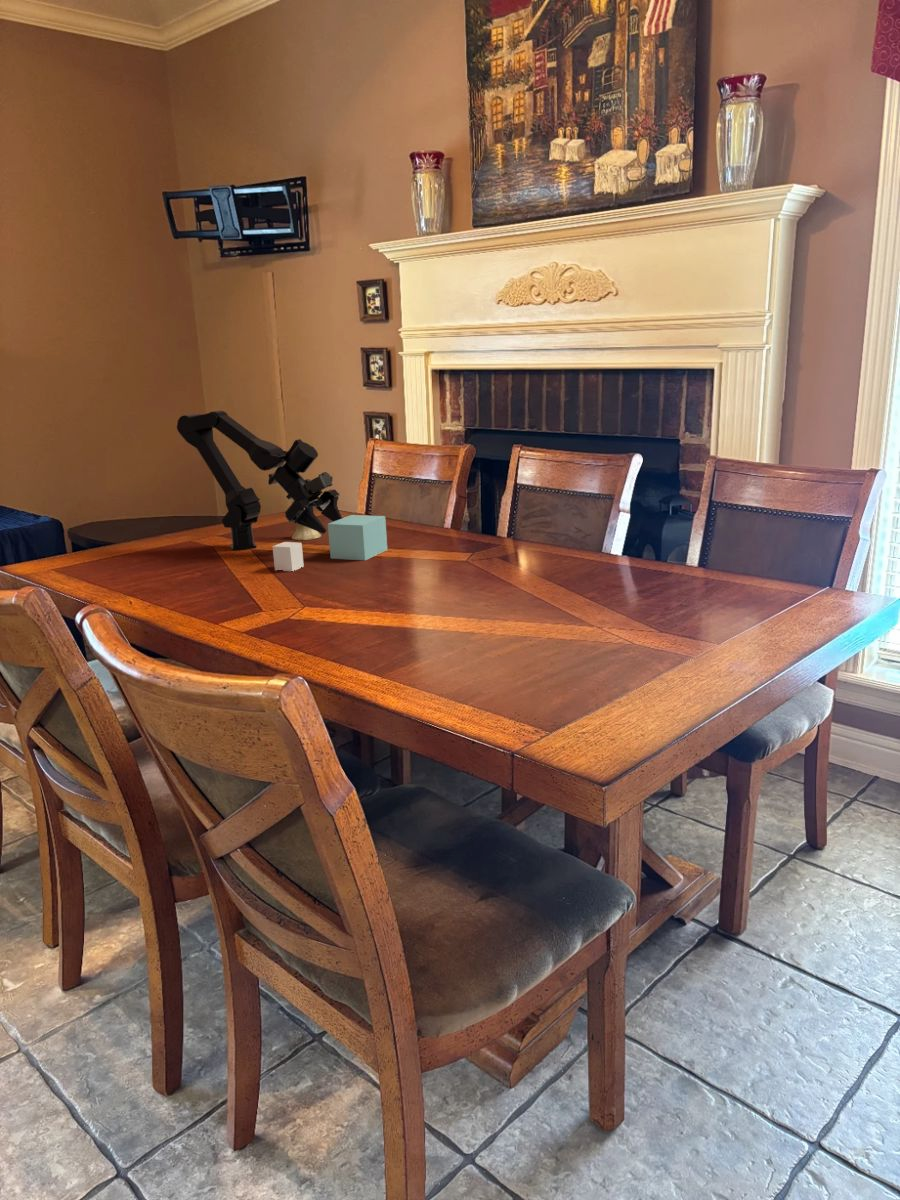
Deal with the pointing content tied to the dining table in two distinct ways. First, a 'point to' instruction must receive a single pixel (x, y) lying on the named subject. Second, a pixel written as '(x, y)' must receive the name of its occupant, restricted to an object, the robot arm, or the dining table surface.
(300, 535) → the hand bell
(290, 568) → the white block
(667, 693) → the dining table surface
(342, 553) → the teal block
